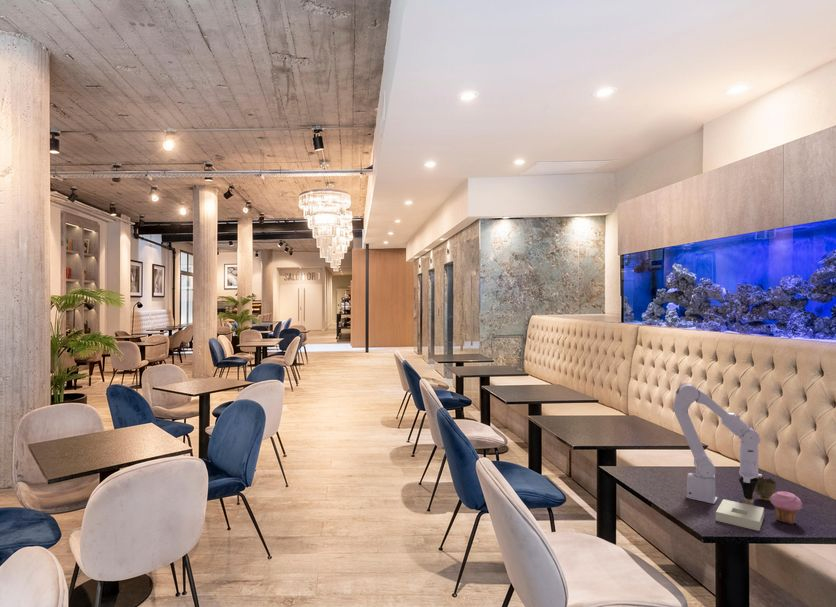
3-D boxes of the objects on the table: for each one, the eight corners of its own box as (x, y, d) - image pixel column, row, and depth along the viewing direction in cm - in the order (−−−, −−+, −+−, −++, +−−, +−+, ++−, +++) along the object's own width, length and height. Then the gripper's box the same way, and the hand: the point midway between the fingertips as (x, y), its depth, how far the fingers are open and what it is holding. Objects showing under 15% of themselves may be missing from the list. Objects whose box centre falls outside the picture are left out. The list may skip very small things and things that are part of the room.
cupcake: (767, 520, 175) (767, 491, 175) (773, 514, 181) (773, 485, 181) (799, 528, 168) (799, 498, 168) (804, 521, 174) (804, 492, 175)
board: (715, 520, 174) (715, 511, 174) (723, 507, 186) (723, 499, 186) (759, 530, 166) (759, 521, 166) (764, 516, 178) (764, 507, 178)
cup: (780, 504, 190) (780, 483, 190) (758, 502, 192) (758, 481, 192) (770, 497, 198) (770, 476, 198) (749, 495, 199) (749, 475, 199)
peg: (743, 505, 188) (743, 483, 189) (744, 503, 191) (744, 481, 191) (753, 507, 187) (753, 485, 187) (753, 505, 189) (754, 483, 189)
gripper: (759, 467, 181) (759, 505, 181) (763, 458, 192) (763, 494, 192) (736, 463, 185) (736, 500, 185) (741, 455, 197) (741, 490, 196)
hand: (748, 497), depth 189 cm, fingers open, 3 cm apart
